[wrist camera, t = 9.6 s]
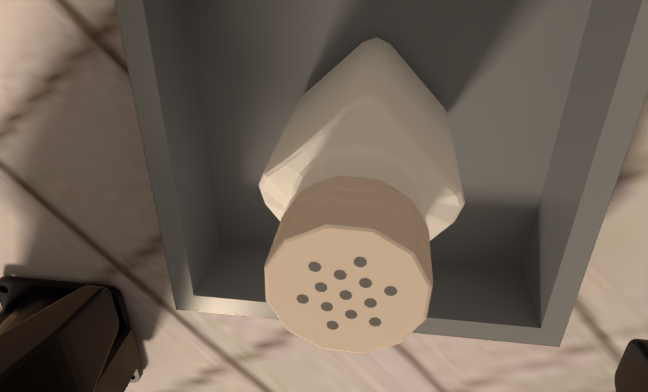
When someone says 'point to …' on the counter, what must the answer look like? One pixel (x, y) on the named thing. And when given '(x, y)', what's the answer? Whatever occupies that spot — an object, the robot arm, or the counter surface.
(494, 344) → the counter surface
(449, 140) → the salt shaker
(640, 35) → the bin
